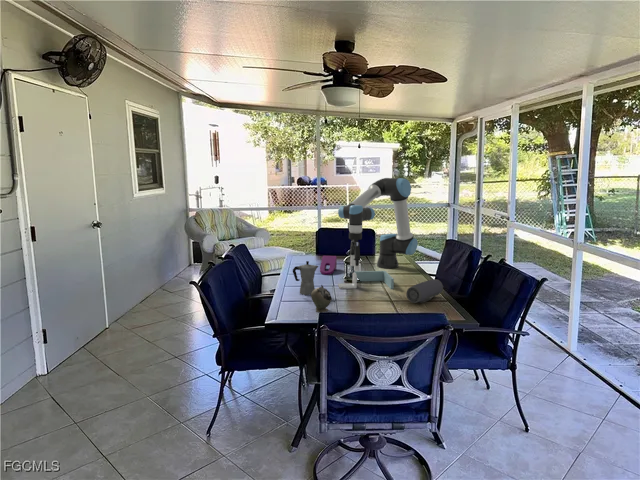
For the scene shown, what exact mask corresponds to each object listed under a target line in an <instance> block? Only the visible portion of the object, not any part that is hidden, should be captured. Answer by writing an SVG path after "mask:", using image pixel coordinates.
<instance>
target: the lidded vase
mask: <svg viewBox="0 0 640 480" xmlns="http://www.w3.org/2000/svg"><path fill="white" fill-rule="evenodd" d="M310 298H311V301H312V303H313V304H314V306H315V312H316V313H317V312H318V313H326V312H328V311H329V309H328V307H329V305H330V304H331V303H332V300H333V297H332V295H331V292H330V291H329V290H328V289H327V288H326V287H324V286H323V284H321V285H320V286H319V287H315V289H314V290H313V291H312V293H311V295H310Z"/></svg>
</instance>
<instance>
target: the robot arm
mask: <svg viewBox="0 0 640 480" xmlns="http://www.w3.org/2000/svg"><path fill="white" fill-rule="evenodd" d="M411 193H412V185H411V182H410V181H409V180H408V179H407V178H402V177H384V178H383V177H382V178H381V179H379V180H376V181H374V182H373V183H372V184H370V185H369V186H368V188H367V189H366V190H365V191H364V192H362V193H361V194H360V195H358V197H357V198H355V199H354V200H353V201H351V202H350V203H349V204H347V205H346V206H345V205H341V206H339V208H338V211H337V213H338V216H339V218H341V219H345V220H348V222H349V223H348V224H349V225H348V226H347V227H348V231H349V232H348V239H349V240H351V241H350V250H349V254H350V256H349V257H350V267H353V270H354V272H355V271H360V260H361V253H360V252H361V250H360V249H361V248H360V247H361V246H360V242H359V240H362V239H363V233H362V232H363V222H366V221H371V220H373V219H374V218H375V215H376V211H375V210H374V209H373V207H366V206H368V205H369V204H370V203H371V202H373V200H375V199H379V198H380V197H385V196H387V197H390V201H391V202H392V203H393V209H394V217H395V225H396V230H397V231H396V232H397V233H387V234H386V233H385V234H381V235H380V237H379V256H378V259H377V261H376V267H378V268H381V269H396V268H399V262H398V258H397V254H401V255H405V256H407V255H408V256H409V255H410V256H411V255H414V254H415V253H416V251H417V248H418V239H417V238H416V237H415V238H414V234H413V232H411V225H410V219H409V211H408V204H407V203H408V201H407V200H408V199H409V197H410V196H411Z"/></svg>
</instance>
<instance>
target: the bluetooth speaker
mask: <svg viewBox="0 0 640 480" xmlns="http://www.w3.org/2000/svg"><path fill="white" fill-rule="evenodd" d="M443 291H444V285H443V283H442V282H441V281H440V280H439V279H436V278H433V279H429V280H426V281H422V282H419V283H416V284H414V285H411V286H410V287H408V289H407V291H406V293H405V294H406V298H407V300H408V301H409V302H410V303H413V304H414V303H415V304H416V303H420V304H421V303H427V302H428V301H431V300H432V298H434V297H436V296H439V295H440V294H442V292H443Z"/></svg>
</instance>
